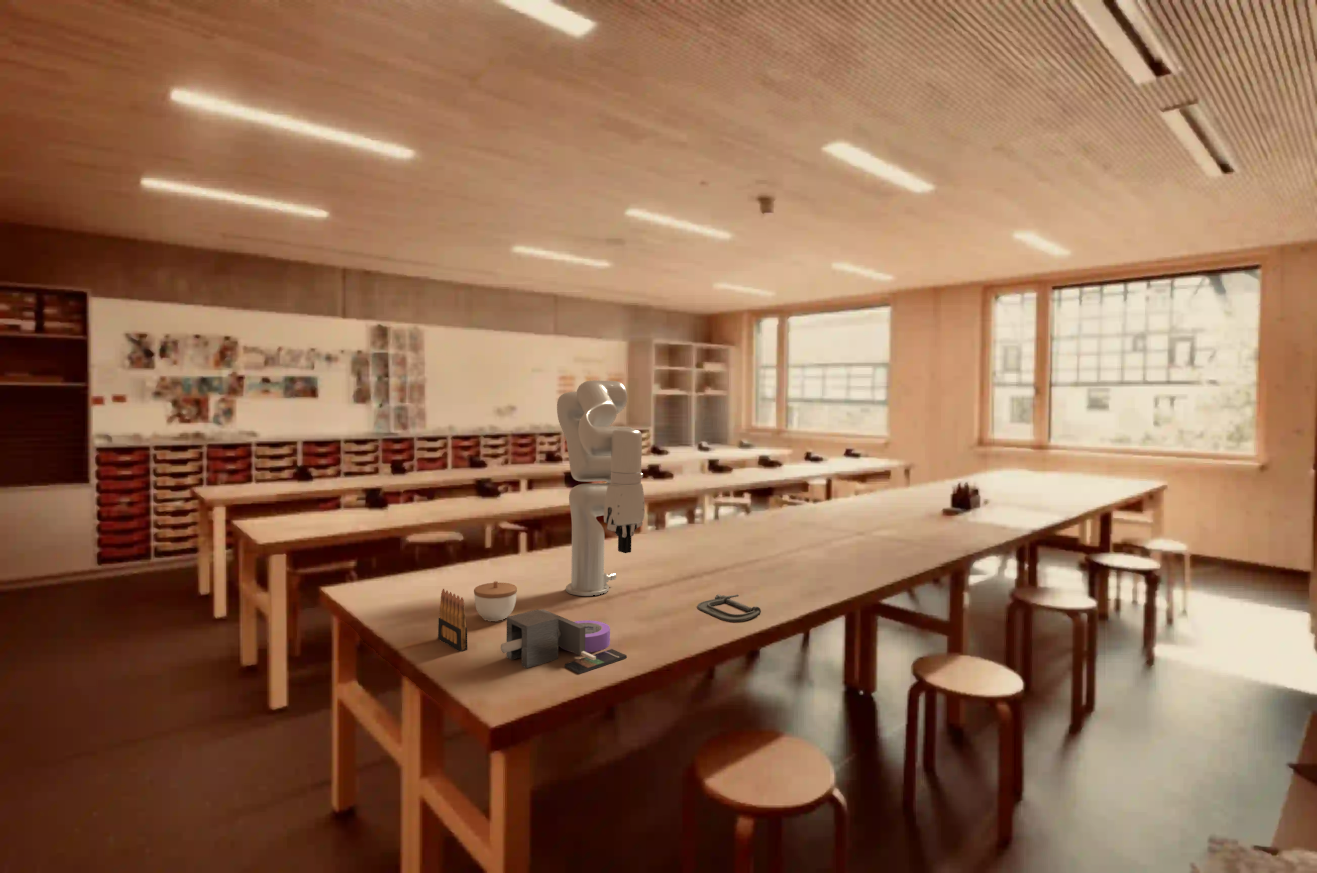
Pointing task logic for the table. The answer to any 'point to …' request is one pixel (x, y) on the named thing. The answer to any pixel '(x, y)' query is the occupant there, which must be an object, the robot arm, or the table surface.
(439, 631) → the ammunition clip
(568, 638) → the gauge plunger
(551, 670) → the table surface
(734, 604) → the c clamp
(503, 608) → the lidded jar
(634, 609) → the table surface
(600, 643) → the masking tape
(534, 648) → the grey slide fixture
